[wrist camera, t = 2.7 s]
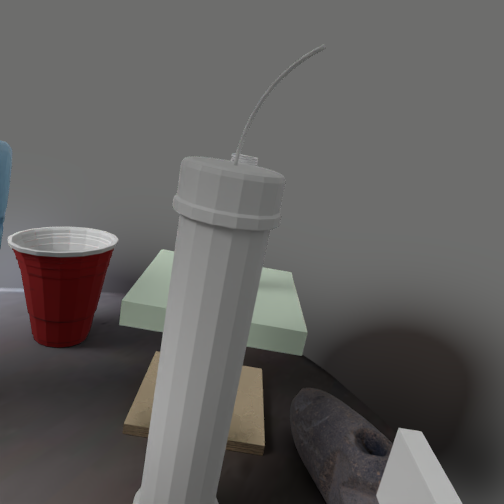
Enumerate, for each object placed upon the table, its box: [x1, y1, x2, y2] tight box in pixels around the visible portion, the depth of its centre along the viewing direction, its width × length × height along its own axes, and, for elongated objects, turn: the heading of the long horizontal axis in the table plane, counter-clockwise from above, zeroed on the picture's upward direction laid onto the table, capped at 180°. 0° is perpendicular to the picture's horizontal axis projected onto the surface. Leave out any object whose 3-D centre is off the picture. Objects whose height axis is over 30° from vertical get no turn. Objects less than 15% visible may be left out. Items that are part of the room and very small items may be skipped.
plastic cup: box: [8, 227, 118, 348], centre depth 46 cm, size 11×11×12 cm
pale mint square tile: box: [119, 249, 308, 356], centre depth 38 cm, size 14×14×2 cm
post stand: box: [123, 153, 265, 456], centre depth 38 cm, size 12×12×24 cm
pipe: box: [133, 44, 326, 504], centre depth 23 cm, size 6×6×30 cm
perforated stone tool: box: [290, 387, 393, 504], centre depth 33 cm, size 15×5×7 cm, turn 22°
